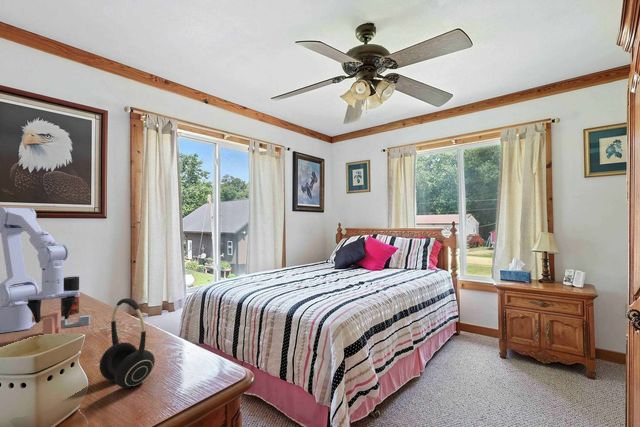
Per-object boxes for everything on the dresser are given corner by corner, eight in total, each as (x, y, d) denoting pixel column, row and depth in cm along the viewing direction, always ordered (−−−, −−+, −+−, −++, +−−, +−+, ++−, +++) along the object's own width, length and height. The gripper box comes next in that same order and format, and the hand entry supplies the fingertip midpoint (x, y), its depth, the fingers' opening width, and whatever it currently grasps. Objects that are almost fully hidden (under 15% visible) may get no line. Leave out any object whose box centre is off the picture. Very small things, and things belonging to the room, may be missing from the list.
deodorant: (63, 316, 127) (63, 279, 127) (59, 313, 130) (59, 278, 131) (80, 313, 131) (81, 277, 132) (76, 310, 135) (76, 275, 135)
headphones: (130, 367, 82) (130, 291, 83) (162, 382, 74) (162, 298, 75) (92, 382, 75) (93, 298, 75) (124, 400, 67) (124, 307, 67)
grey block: (54, 329, 112) (54, 320, 112) (56, 327, 114) (56, 318, 114) (88, 324, 116) (88, 316, 117) (90, 322, 119) (90, 314, 119)
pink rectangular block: (42, 340, 101) (43, 318, 101) (52, 330, 110) (52, 310, 110) (52, 339, 102) (52, 317, 103) (60, 329, 111) (61, 310, 111)
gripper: (20, 284, 100) (19, 327, 100) (76, 280, 106) (76, 320, 106) (28, 281, 106) (28, 321, 106) (81, 277, 113) (80, 314, 112)
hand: (52, 320), depth 106 cm, fingers open, 7 cm apart
